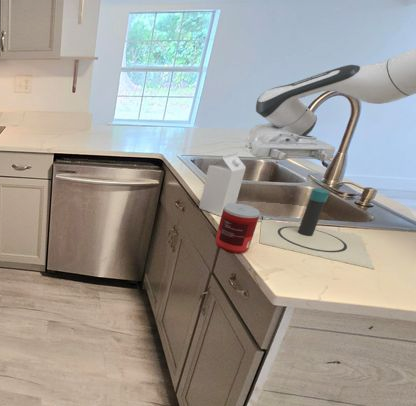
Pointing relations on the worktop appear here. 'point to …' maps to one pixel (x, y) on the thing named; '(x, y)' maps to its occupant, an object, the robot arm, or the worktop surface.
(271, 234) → the paper pad
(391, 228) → the worktop surface
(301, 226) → the marker
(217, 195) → the milk carton
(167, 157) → the worktop surface
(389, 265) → the worktop surface
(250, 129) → the robot arm
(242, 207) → the canned food
